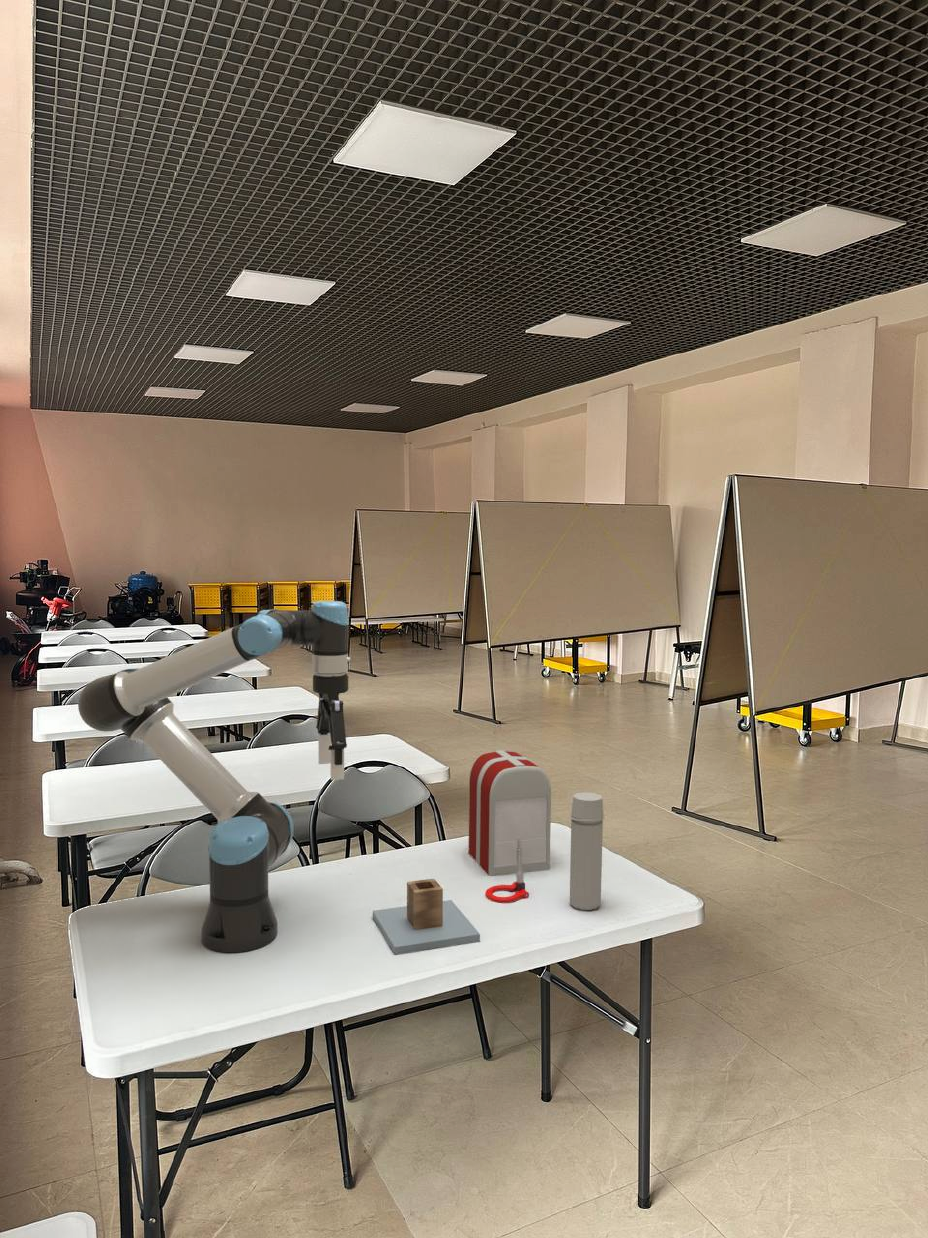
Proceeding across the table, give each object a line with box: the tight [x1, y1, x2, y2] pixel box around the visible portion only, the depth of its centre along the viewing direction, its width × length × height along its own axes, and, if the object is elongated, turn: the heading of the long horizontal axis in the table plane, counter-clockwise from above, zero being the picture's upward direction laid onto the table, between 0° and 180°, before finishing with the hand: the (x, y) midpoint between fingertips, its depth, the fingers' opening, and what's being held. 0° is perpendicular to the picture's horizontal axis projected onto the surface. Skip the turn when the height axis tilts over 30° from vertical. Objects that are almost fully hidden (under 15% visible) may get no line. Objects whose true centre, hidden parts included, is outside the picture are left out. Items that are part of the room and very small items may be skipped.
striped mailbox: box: [467, 749, 552, 877], centre depth 223 cm, size 16×18×27 cm
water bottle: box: [568, 791, 605, 911], centre depth 197 cm, size 9×8×25 cm
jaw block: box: [406, 878, 444, 930], centre depth 184 cm, size 6×6×8 cm
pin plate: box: [372, 899, 481, 955], centre depth 184 cm, size 18×18×7 cm
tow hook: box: [485, 839, 530, 904], centre depth 202 cm, size 8×13×9 cm
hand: (330, 771), depth 189 cm, fingers open, 13 cm apart
